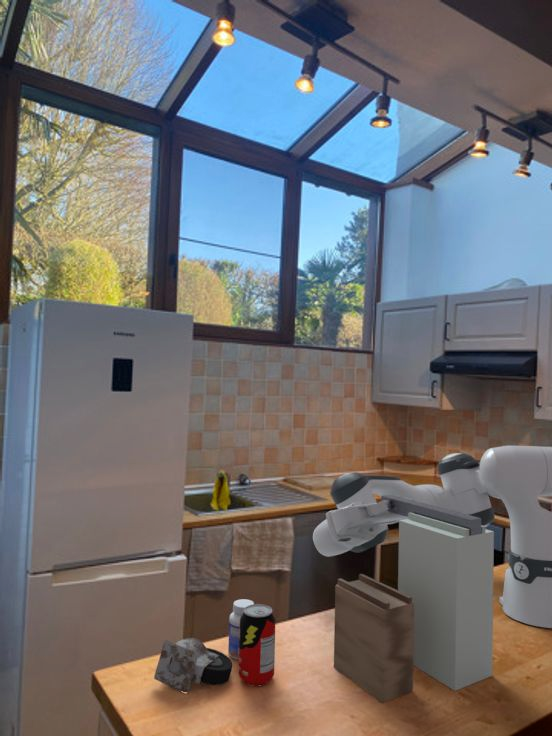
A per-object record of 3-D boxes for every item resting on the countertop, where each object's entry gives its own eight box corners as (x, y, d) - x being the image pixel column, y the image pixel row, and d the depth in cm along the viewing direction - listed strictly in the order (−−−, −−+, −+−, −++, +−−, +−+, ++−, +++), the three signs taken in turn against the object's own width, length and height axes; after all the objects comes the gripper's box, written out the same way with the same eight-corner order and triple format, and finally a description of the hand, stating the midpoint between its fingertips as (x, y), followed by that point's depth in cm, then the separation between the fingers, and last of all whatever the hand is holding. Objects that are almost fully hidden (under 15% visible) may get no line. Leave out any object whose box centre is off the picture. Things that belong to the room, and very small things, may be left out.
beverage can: (262, 666, 100) (263, 600, 100) (281, 682, 95) (282, 612, 95) (231, 675, 96) (233, 607, 97) (249, 692, 91) (251, 620, 91)
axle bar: (390, 507, 117) (391, 494, 117) (481, 533, 97) (481, 518, 97) (381, 508, 115) (381, 495, 115) (470, 535, 96) (470, 519, 96)
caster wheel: (232, 686, 98) (209, 708, 88) (179, 660, 101) (151, 679, 92) (242, 648, 98) (221, 666, 89) (189, 625, 102) (163, 640, 93)
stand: (432, 643, 110) (434, 509, 111) (492, 675, 98) (493, 524, 99) (396, 655, 105) (399, 514, 106) (455, 690, 93) (457, 531, 94)
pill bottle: (237, 644, 108) (238, 595, 108) (261, 651, 105) (262, 600, 106) (222, 656, 103) (224, 605, 103) (247, 663, 101) (248, 610, 101)
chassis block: (362, 657, 104) (364, 573, 104) (412, 691, 93) (414, 596, 93) (333, 667, 100) (335, 579, 101) (382, 703, 89) (384, 604, 90)
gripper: (397, 531, 127) (437, 512, 117) (327, 542, 117) (365, 522, 107) (388, 505, 130) (426, 484, 120) (319, 513, 120) (355, 492, 110)
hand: (397, 502), depth 113 cm, fingers open, 4 cm apart
